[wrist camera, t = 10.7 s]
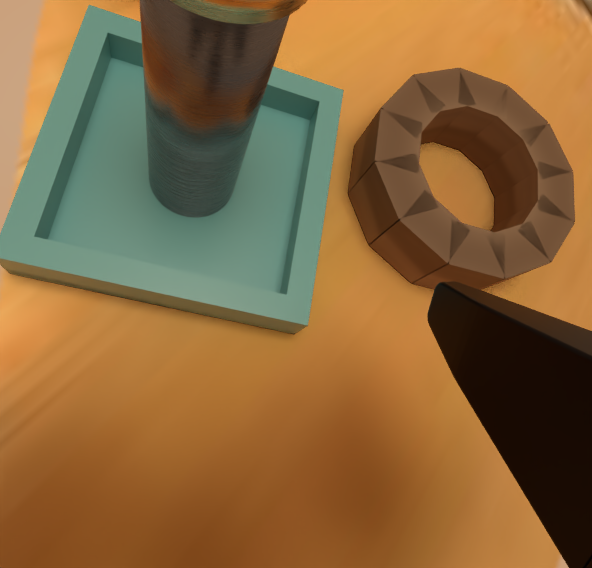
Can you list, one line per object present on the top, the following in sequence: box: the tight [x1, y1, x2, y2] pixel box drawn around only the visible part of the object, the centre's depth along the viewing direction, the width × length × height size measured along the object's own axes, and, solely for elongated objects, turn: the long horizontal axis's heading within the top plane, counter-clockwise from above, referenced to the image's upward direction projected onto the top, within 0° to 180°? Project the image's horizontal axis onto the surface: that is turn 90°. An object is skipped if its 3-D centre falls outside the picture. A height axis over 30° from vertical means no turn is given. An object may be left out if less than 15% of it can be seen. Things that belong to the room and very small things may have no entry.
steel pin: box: [140, 0, 307, 217], centre depth 14 cm, size 4×4×12 cm
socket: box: [348, 68, 575, 290], centre depth 22 cm, size 10×10×3 cm
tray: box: [0, 5, 343, 334], centre depth 19 cm, size 11×11×2 cm
